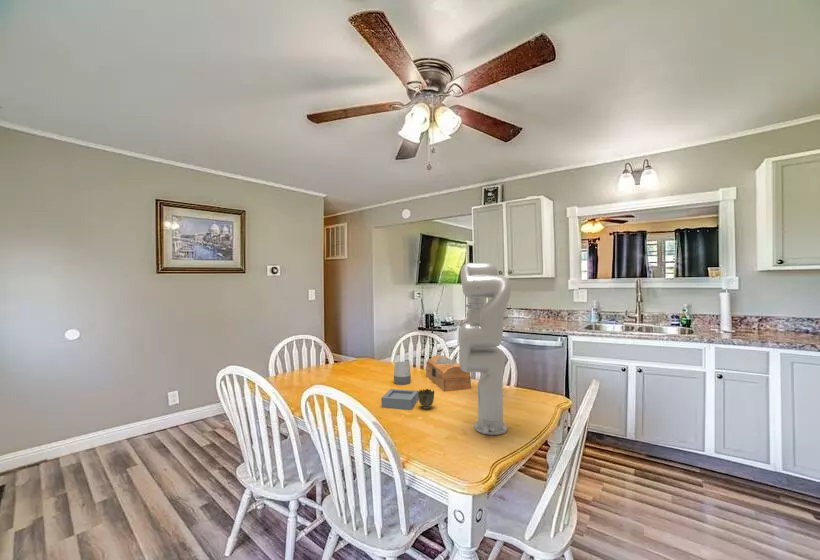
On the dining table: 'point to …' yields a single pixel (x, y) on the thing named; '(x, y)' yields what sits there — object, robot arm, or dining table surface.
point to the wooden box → (447, 374)
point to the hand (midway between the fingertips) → (477, 341)
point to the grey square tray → (400, 399)
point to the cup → (426, 398)
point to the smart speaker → (402, 373)
